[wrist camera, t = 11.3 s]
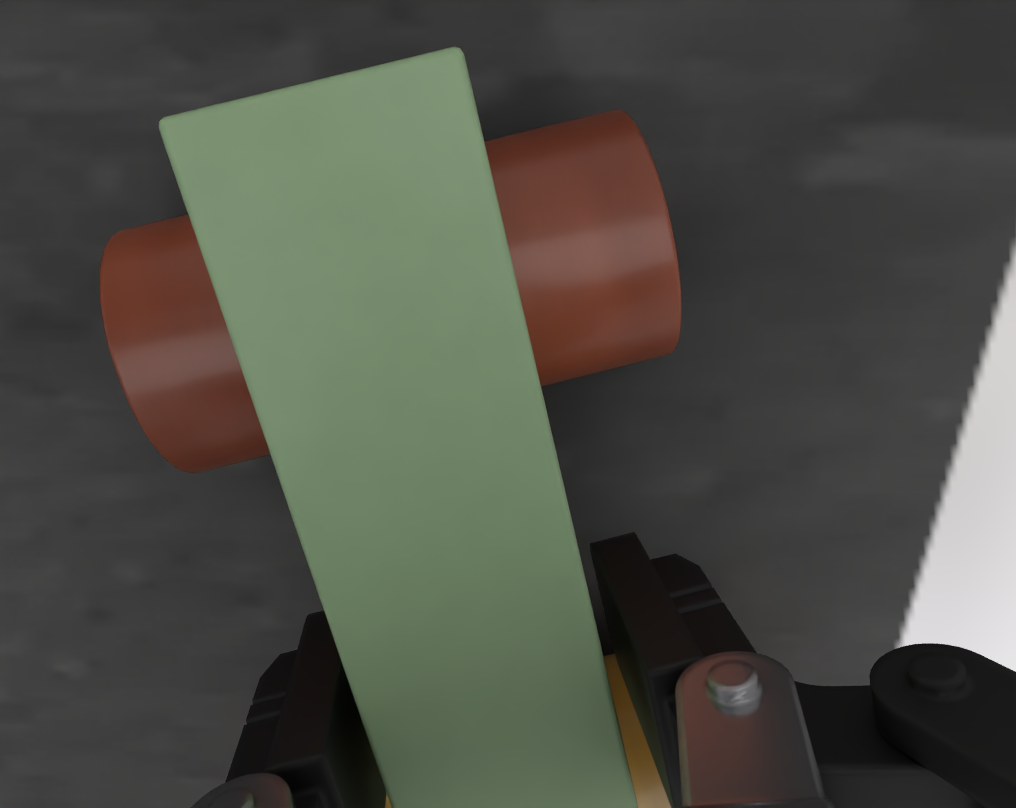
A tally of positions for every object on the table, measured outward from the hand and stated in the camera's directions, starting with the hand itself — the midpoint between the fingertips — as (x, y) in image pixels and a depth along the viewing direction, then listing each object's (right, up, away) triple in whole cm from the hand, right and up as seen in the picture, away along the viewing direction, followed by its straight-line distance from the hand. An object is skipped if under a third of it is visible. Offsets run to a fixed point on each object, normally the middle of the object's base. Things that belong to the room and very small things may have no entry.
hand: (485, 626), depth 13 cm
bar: (0, 0, 0) cm, 0 cm away
